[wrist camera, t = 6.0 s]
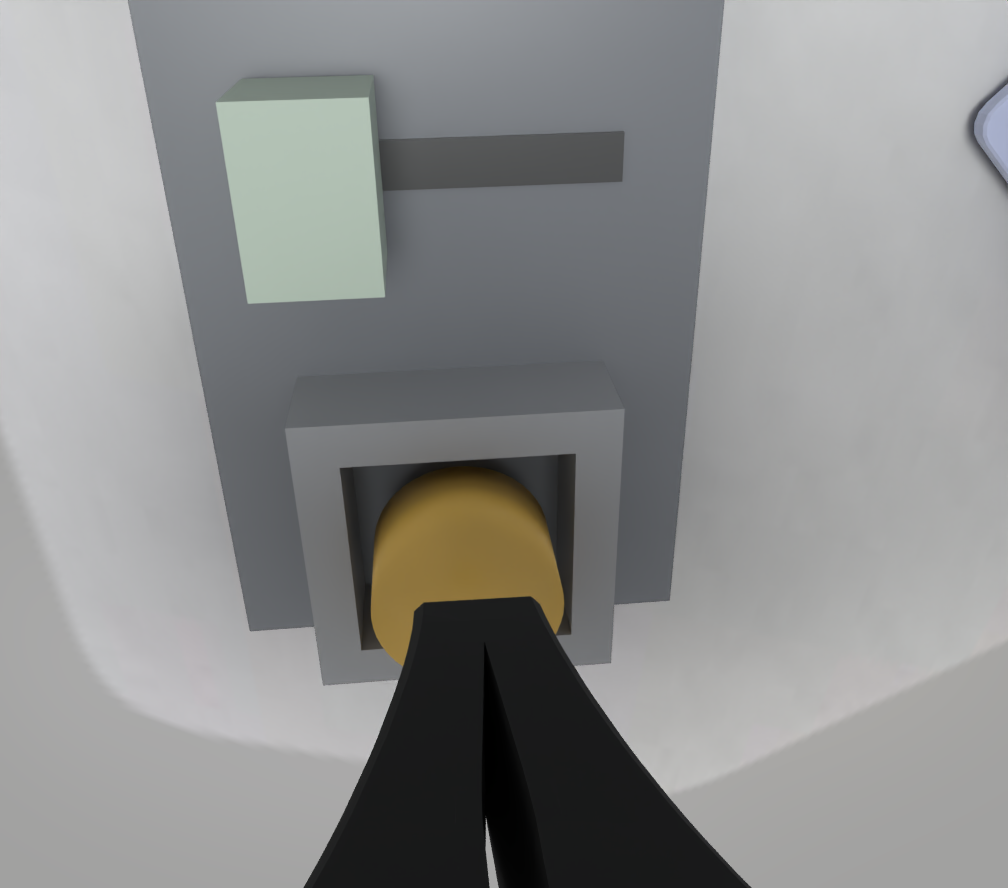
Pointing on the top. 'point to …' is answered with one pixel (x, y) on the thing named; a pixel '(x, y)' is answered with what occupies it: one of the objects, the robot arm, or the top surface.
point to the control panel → (454, 289)
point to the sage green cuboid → (306, 187)
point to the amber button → (459, 549)
